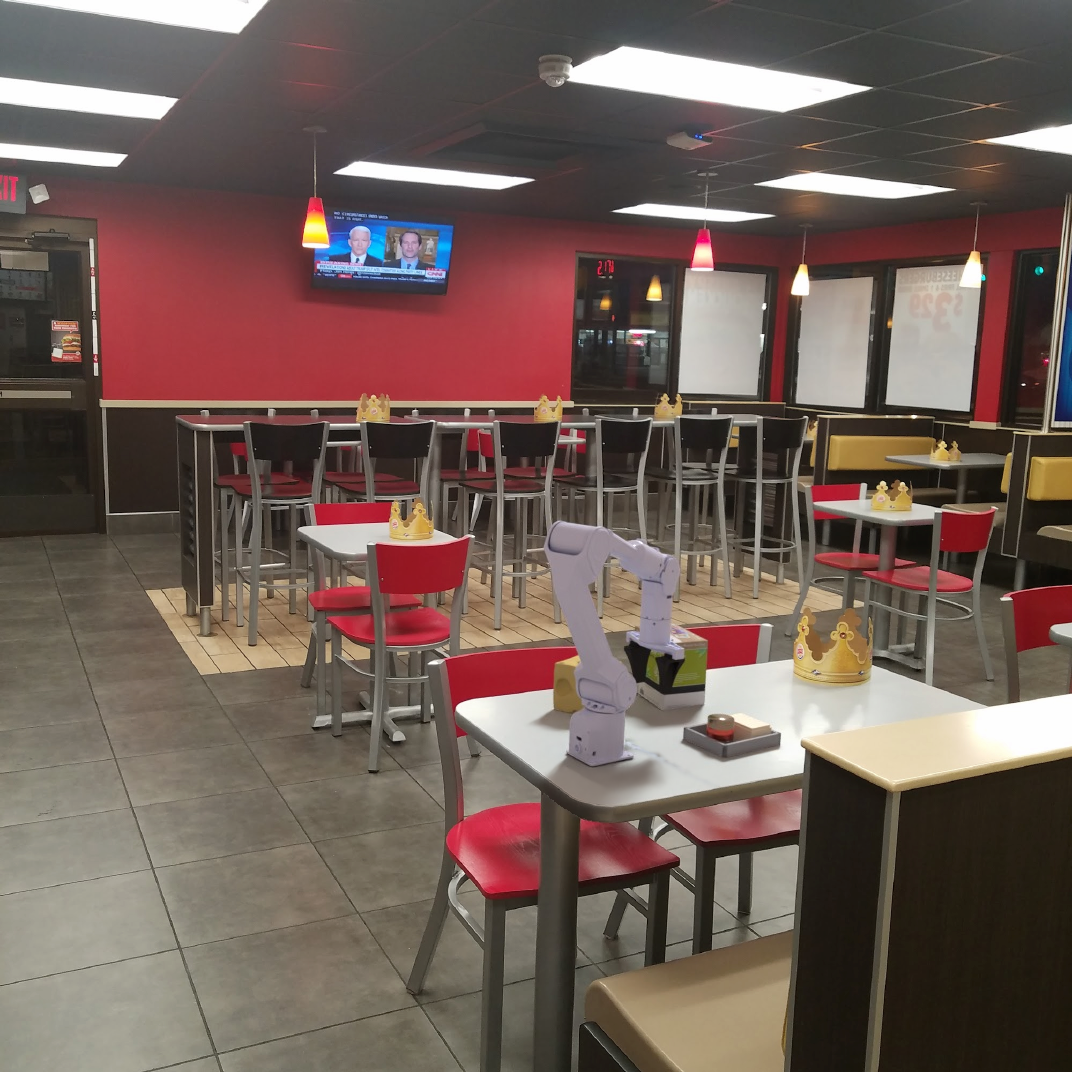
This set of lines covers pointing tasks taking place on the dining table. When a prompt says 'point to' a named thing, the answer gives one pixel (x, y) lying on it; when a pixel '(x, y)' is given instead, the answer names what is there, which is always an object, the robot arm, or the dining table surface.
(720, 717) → the tin
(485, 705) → the dining table surface
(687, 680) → the tea box
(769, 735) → the tray
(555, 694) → the cheese
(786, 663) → the dining table surface
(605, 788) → the dining table surface
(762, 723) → the cream rectangular block
